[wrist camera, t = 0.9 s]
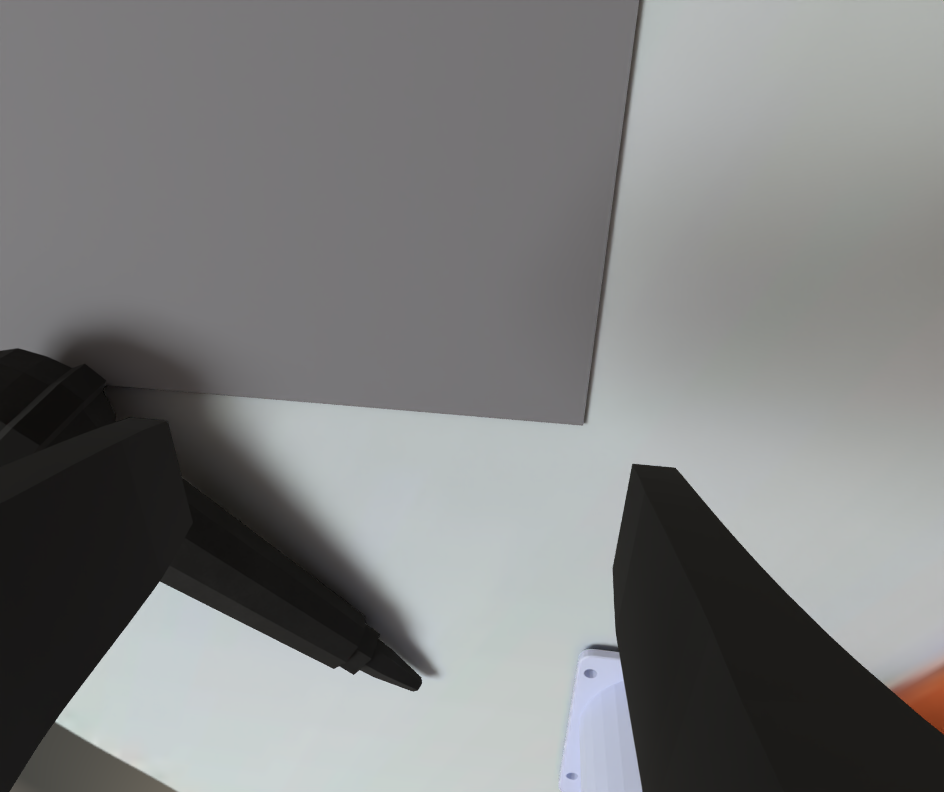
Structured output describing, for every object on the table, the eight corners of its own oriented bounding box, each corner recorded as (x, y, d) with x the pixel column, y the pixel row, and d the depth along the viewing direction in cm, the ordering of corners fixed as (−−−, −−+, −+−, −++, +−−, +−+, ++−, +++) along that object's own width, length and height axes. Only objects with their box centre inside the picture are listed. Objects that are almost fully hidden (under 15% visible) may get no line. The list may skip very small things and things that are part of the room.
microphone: (452, 596, 28) (38, 294, 20) (477, 700, 22) (-75, 344, 14) (369, 671, 28) (-63, 408, 20) (374, 788, 23) (-205, 494, 15)
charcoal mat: (582, 423, 19) (583, 425, 19) (-144, 362, 22) (-147, 363, 21) (659, -154, 12) (659, -157, 12) (-403, -145, 15) (-409, -146, 15)
